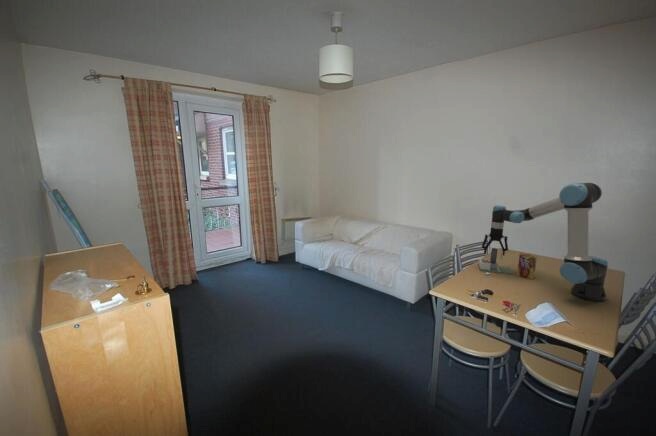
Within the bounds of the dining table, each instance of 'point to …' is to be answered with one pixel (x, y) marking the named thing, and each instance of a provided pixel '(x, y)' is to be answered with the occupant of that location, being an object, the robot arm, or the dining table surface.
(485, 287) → the dining table surface
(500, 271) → the pitch
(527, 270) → the candy box
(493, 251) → the kicker
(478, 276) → the dining table surface
